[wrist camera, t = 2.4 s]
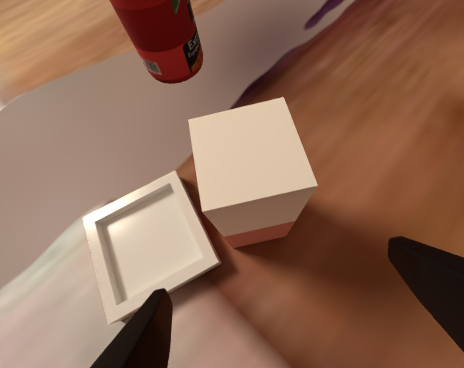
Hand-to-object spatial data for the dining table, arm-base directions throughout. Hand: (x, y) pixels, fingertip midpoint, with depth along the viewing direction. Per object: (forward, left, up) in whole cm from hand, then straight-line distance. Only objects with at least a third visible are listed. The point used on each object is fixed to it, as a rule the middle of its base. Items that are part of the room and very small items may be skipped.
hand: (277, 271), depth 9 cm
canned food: (+21, -20, -12) cm, 32 cm away
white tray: (+11, +2, -12) cm, 16 cm away
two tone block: (+3, -4, -12) cm, 13 cm away
